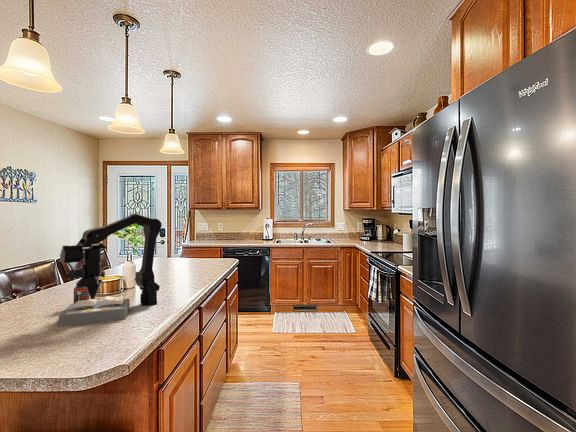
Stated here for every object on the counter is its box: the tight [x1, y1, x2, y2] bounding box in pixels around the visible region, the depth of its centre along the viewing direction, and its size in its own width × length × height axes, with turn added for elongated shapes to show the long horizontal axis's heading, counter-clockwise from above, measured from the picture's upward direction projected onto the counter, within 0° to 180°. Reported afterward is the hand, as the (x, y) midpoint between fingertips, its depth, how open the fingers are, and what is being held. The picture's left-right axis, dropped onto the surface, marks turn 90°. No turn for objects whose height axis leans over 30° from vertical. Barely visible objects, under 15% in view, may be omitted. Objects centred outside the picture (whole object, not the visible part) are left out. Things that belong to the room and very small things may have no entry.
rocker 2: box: [103, 295, 125, 305], centre depth 127 cm, size 7×5×1 cm
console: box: [58, 298, 131, 327], centre depth 125 cm, size 22×16×5 cm
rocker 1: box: [73, 298, 98, 308], centre depth 124 cm, size 7×5×1 cm
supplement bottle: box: [73, 281, 90, 304], centre depth 137 cm, size 6×6×11 cm
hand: (92, 298), depth 124 cm, fingers closed
